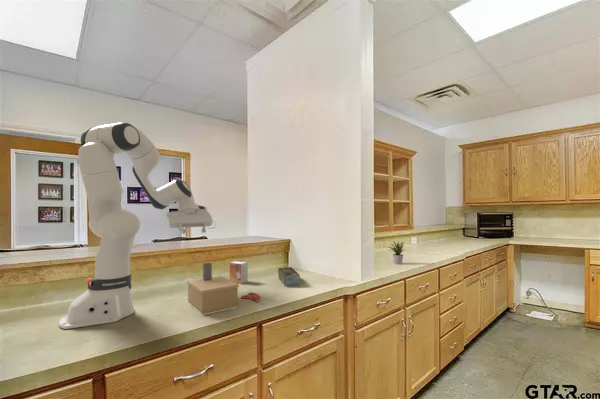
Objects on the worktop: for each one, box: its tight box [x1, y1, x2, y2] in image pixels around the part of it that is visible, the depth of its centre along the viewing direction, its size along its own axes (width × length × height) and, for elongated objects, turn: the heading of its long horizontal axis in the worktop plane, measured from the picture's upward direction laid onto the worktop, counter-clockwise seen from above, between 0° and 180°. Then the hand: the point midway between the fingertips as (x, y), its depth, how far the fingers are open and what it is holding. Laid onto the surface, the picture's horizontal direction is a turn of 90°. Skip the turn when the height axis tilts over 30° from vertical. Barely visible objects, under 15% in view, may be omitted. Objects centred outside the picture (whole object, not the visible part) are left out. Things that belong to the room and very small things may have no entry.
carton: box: [187, 283, 239, 316], centre depth 120 cm, size 14×18×8 cm
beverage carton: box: [277, 266, 301, 288], centre depth 157 cm, size 8×19×7 cm, turn 15°
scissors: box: [240, 291, 269, 309], centre depth 125 cm, size 8×21×2 cm, turn 45°
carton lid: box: [186, 262, 240, 293], centre depth 120 cm, size 15×19×8 cm
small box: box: [229, 260, 249, 285], centre depth 157 cm, size 8×6×10 cm
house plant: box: [388, 240, 405, 265], centre depth 208 cm, size 14×14×16 cm
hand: (194, 232), depth 140 cm, fingers open, 8 cm apart
